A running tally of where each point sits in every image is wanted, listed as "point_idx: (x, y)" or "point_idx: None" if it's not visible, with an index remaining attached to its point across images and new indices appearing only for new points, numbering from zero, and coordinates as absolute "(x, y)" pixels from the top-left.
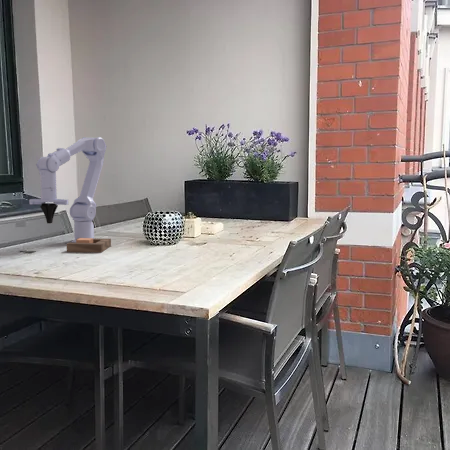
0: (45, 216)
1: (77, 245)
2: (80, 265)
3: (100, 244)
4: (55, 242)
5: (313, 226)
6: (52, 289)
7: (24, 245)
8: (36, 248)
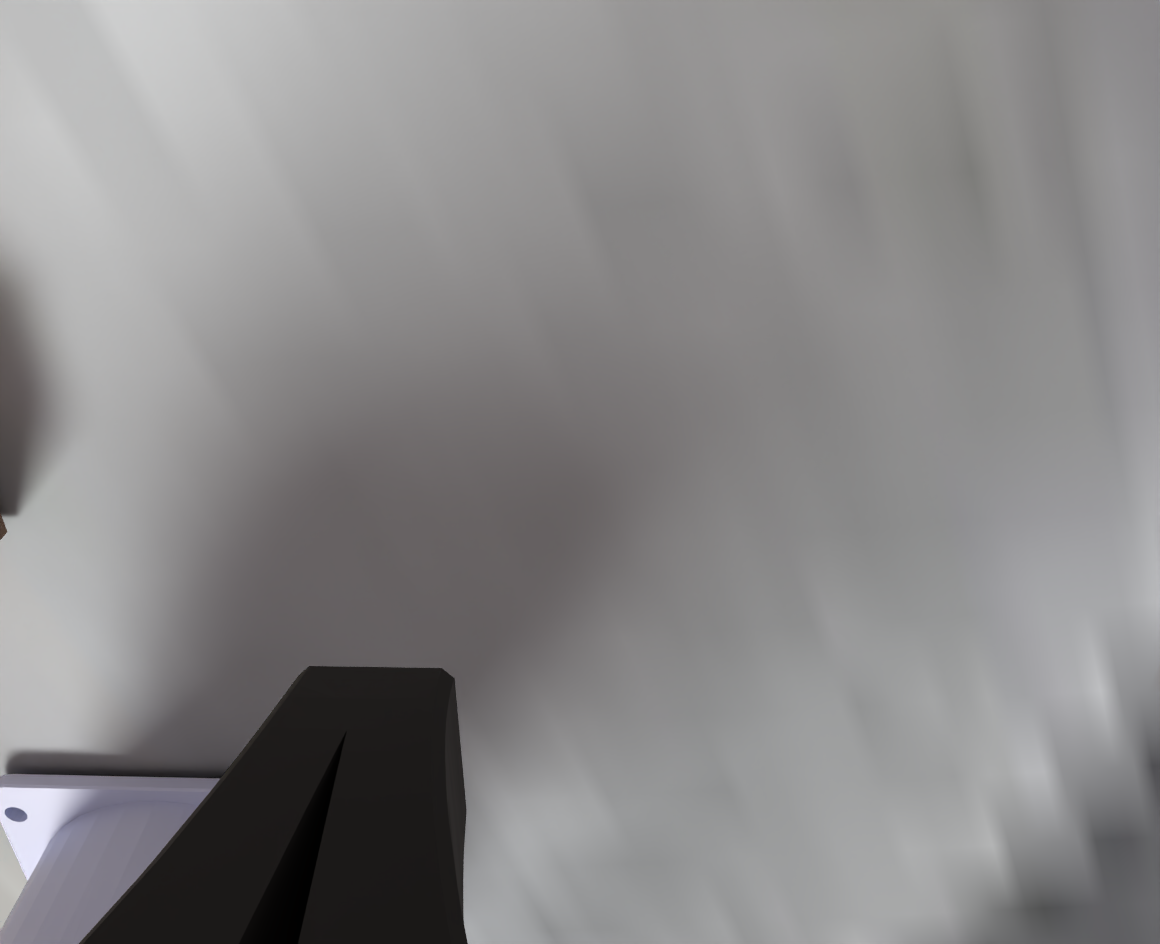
0: (432, 906)
1: None
2: None
3: None
4: (613, 792)
5: None
6: None
7: (1115, 505)
8: (764, 184)
